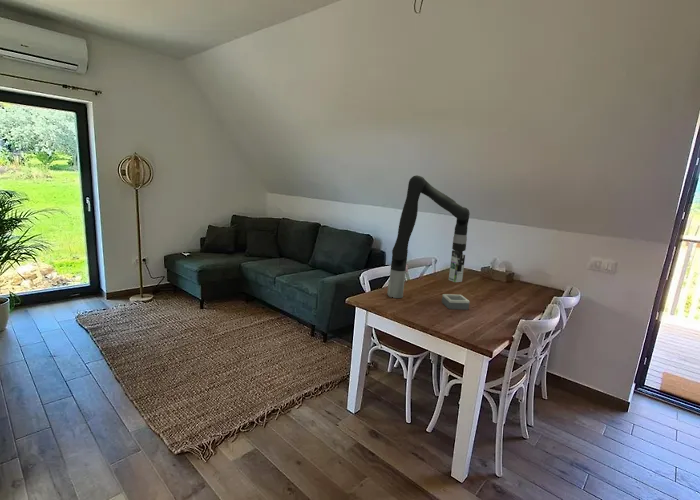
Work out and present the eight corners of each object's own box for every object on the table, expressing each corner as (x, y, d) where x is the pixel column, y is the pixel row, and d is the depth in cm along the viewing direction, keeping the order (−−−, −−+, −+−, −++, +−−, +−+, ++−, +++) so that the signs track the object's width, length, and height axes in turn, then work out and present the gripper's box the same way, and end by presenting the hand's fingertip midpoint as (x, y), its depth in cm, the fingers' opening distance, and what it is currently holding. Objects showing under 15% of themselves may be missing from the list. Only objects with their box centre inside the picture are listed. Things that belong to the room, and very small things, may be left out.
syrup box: (448, 280, 220) (450, 256, 218) (455, 279, 223) (458, 255, 220) (454, 282, 215) (457, 258, 213) (462, 281, 218) (465, 257, 215)
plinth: (449, 309, 217) (450, 300, 216) (441, 302, 228) (442, 294, 227) (468, 309, 218) (469, 301, 217) (460, 302, 230) (461, 294, 229)
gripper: (448, 239, 221) (446, 266, 225) (458, 244, 207) (455, 272, 211) (460, 240, 222) (457, 267, 225) (471, 244, 208) (467, 273, 211)
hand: (456, 269), depth 218 cm, fingers closed on syrup box, 7 cm apart
